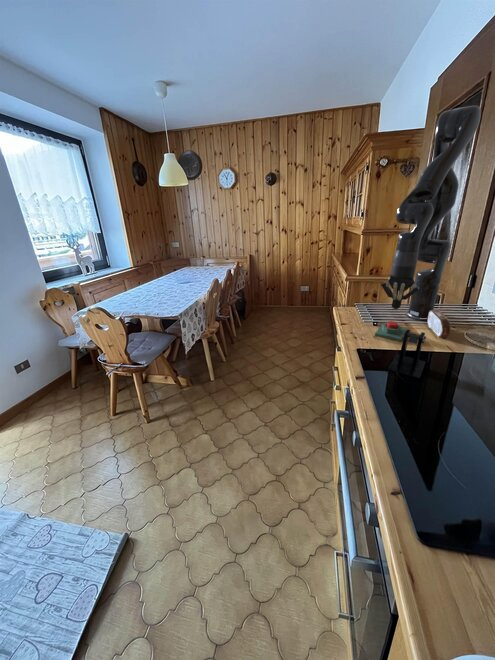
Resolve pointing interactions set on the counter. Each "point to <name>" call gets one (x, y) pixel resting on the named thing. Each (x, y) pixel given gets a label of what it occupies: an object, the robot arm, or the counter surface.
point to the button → (392, 325)
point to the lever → (414, 338)
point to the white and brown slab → (438, 323)
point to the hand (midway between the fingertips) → (395, 308)
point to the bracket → (409, 358)
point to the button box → (391, 332)
